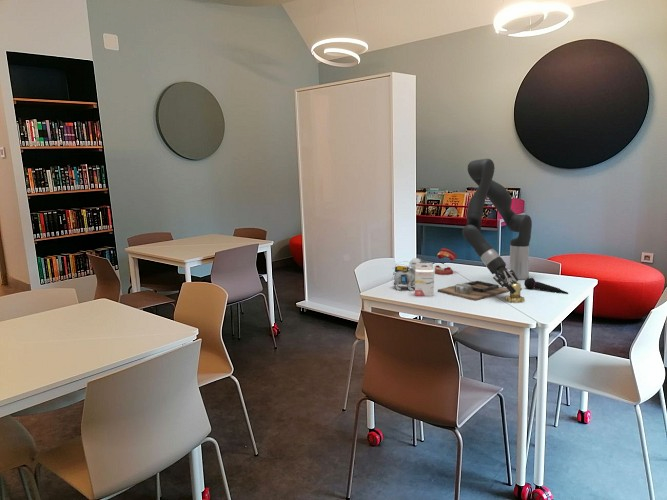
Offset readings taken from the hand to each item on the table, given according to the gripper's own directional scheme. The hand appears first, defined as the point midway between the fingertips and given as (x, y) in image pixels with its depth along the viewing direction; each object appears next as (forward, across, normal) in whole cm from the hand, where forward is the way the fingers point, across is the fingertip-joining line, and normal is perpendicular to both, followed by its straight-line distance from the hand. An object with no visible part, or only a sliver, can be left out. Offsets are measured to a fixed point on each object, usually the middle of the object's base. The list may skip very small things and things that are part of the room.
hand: (517, 291), depth 216 cm
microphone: (+3, +25, +3) cm, 25 cm away
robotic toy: (-32, -14, +38) cm, 51 cm away
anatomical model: (-38, +26, +44) cm, 64 cm away
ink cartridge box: (-22, -19, +28) cm, 41 cm away
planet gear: (+2, 0, +4) cm, 4 cm away
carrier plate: (-13, +2, +19) cm, 23 cm away
